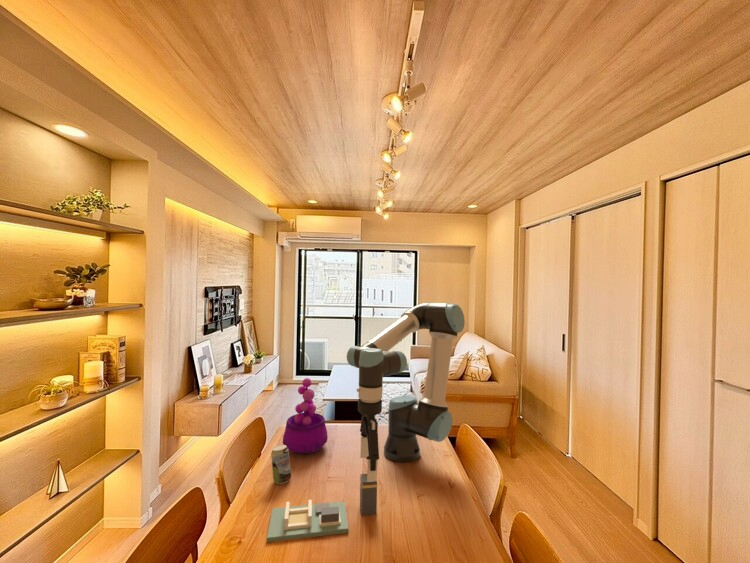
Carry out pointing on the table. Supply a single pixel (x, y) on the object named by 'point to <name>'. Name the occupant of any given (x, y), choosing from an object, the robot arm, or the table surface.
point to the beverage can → (281, 464)
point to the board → (307, 521)
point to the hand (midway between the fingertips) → (368, 468)
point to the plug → (368, 496)
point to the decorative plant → (305, 425)
